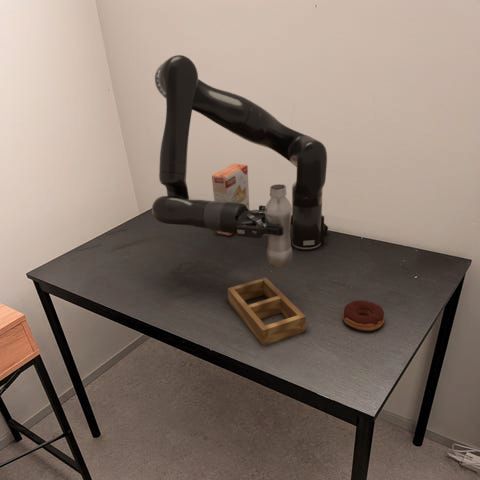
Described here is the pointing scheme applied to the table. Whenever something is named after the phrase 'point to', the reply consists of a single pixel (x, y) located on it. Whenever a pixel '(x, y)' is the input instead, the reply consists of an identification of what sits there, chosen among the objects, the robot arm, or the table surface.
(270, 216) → the grey metal bottle
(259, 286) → the caddy
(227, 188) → the cracker box
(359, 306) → the donut
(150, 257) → the table surface
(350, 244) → the table surface
